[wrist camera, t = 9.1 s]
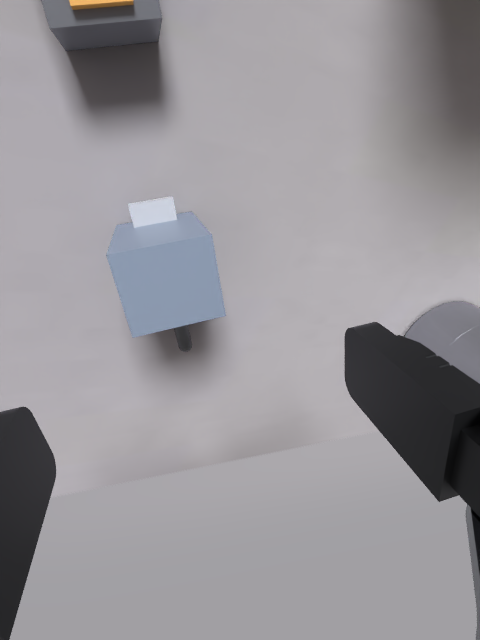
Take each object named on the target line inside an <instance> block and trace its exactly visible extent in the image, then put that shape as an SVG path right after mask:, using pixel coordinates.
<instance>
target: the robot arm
mask: <svg viewBox="0 0 480 640" xmlns="http://www.w3.org/2000/svg"><path fill="white" fill-rule="evenodd" d="M345 382H346V386H347V389H348V391H349V394H350V395H351V397H352V399H353V400H354V401H355V402H356V404H357V405H358V406H359V407H360V408H361V409H362V411H363V412H364V413H365V414H366V415H367V417H368V418H369V419H370V420H371V421H372V423H373V424H374V425H375V426H376V427H377V429H378V430H379V431H380V432H381V433H382V434H383V436H384V437H385V438H386V439H387V440H388V441H389V443H390V444H391V445H392V446H393V448H394V449H395V450H396V451H397V452H398V454H400V456H401V457H402V458H403V459H404V461H405V462H406V463H407V464H408V465H409V466H410V468H411V469H412V470H413V471H414V473H415V474H416V475H417V476H418V477H419V479H420V480H421V481H422V482H423V483H424V484H425V486H426V487H427V488H428V489H429V490H430V492H431V493H432V494H433V495H434V496H435V498H436V499H437V500H438V501H439V502H440V501H443V500H446V499H449V498H452V497H455V496H458V495H460V497H461V498H462V499H463V500H464V501H465V502H466V503H467V508H466V522H467V531H468V538H469V547H470V556H471V563H472V573H473V581H474V590H475V598H476V607H477V631H476V640H480V307H478V306H475V305H473V304H471V303H467V302H463V301H453V302H449V303H445V304H442V305H440V306H438V307H435V308H433V309H432V310H430V311H429V312H427V313H426V314H424V315H423V316H422V317H421V318H420V319H418V320H417V321H416V322H415V323H414V324H413V326H412V327H411V328H410V329H409V330H408V332H407V333H406V335H405V336H404V337H403V336H400V335H398V336H396V335H394V334H393V333H392V332H390V331H389V330H388V329H386V328H385V327H383V326H382V325H381V324H379V323H377V322H372V323H368V324H364V325H360V326H356V327H352V328H348V329H347V330H346V333H345ZM55 478H56V464H55V459H54V455H53V453H52V451H51V449H50V447H49V445H48V443H47V441H46V439H45V437H44V435H43V434H42V432H41V430H40V428H39V426H38V424H37V422H36V420H35V418H34V416H33V414H32V413H31V411H30V410H29V409H28V408H26V407H19V408H15V409H11V410H7V411H3V412H0V640H9V639H10V635H11V632H12V628H13V625H14V621H15V618H16V614H17V610H18V607H19V604H20V600H21V596H22V593H23V590H24V586H25V583H26V580H27V576H28V572H29V569H30V565H31V562H32V559H33V555H34V552H35V548H36V545H37V541H38V538H39V534H40V531H41V527H42V524H43V521H44V517H45V514H46V510H47V507H48V503H49V500H50V496H51V493H52V489H53V486H54V482H55Z"/></svg>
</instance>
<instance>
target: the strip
mask: <svg viewBox="0 0 480 640" xmlns="http://www.w3.org/2000/svg"><path fill="white" fill-rule="evenodd" d="M41 1H42V4H43V8H44V11H45V14H46V18H47V21H48V24H49V28H50V29H51V31H52V32H53V34H54V35H55V36H56V38H57V39H58V40H59V42H60V43H61V44H62V46H63V47H64V49H65V50H66V51H70V50H79V49H89V48H99V47H109V46H119V45H128V44H138V43H148V42H158V41H159V35H160V28H161V22H162V15H161V10H160V4H159V0H41Z"/></svg>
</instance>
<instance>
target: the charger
mask: <svg viewBox="0 0 480 640" xmlns="http://www.w3.org/2000/svg"><path fill="white" fill-rule="evenodd" d="M128 207H129V211H130V215H131V218H132V222H131V223H125V224H120V225H117V226H116V228H115V231H114V234H113V237H112V240H111V243H110V246H109V249H108V252H107V255H106V256H107V259H108V262H109V265H110V268H111V271H112V274H113V278H114V281H115V284H116V287H117V290H118V293H119V296H120V300H121V303H122V306H123V309H124V312H125V315H126V318H127V322H128V325H129V328H130V331H131V334H132V337H133V338H134V337H138V336H142V335H147V334H151V333H155V332H159V331H163V330H168V329H172V328H174V329H175V333H176V337H177V341H178V345H179V348H180V350H182V351H184V352H186V351H189V350H190V349H191V347H192V342H191V338H190V333H189V329H188V325H189V324H193V323H197V322H202V321H206V320H210V319H214V318H219V317H223V316H226V314H225V308H224V302H223V296H222V291H221V285H220V279H219V273H218V267H217V262H216V256H215V250H214V244H213V238H212V234H211V233H210V232H209V231H208V229H207V228H206V227H205V226H204V225H203V224H202V223H201V221H200V220H199V219H198V218H197V217H196V216H195V215H194V213H193V212H192V211H191V212H186V213H180V214H176V211H175V206H174V201H173V197H172V196H170V197H164V198H158V199H152V200H147V201H141V202H135V203H130V204H128Z"/></svg>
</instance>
